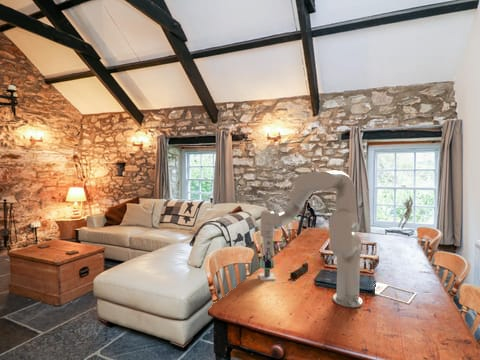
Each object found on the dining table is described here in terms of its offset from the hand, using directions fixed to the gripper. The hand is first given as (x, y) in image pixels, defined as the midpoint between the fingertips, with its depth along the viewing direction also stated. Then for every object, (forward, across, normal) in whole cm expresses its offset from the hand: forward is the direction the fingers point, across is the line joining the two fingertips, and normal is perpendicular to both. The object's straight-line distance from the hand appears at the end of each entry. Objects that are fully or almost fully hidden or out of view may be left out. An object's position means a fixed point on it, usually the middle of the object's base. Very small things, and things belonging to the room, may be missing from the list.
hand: (266, 265), depth 156 cm
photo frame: (+7, -20, -58) cm, 62 cm away
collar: (+1, 0, 0) cm, 1 cm away
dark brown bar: (+7, +5, -20) cm, 22 cm away
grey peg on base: (+7, 0, 0) cm, 7 cm away
